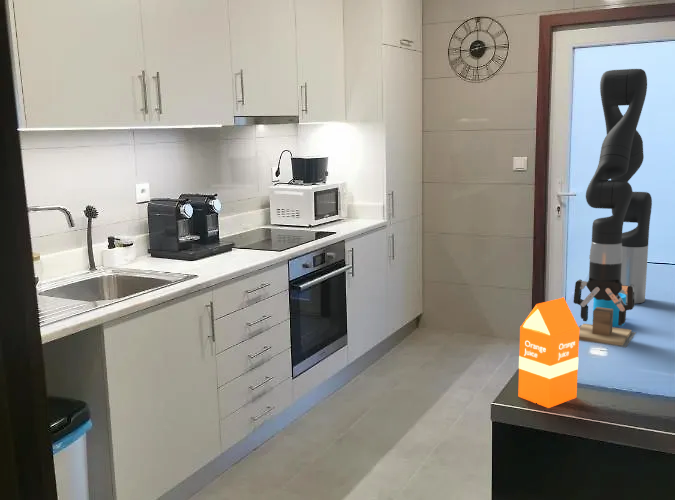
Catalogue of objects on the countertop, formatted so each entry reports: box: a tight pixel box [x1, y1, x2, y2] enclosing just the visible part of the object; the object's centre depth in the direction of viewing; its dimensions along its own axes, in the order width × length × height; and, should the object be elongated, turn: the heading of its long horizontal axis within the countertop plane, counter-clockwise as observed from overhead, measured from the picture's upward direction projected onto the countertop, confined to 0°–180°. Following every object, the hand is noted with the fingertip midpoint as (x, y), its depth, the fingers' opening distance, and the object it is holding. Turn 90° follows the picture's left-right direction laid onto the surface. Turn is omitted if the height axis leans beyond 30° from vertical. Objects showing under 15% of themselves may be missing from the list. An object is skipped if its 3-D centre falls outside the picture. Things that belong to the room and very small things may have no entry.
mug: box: [592, 293, 627, 328], centre depth 191 cm, size 12×8×8 cm
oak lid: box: [579, 307, 633, 346], centre depth 178 cm, size 12×12×7 cm
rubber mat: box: [578, 324, 637, 348], centre depth 179 cm, size 14×14×1 cm
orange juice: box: [517, 296, 580, 409], centre depth 139 cm, size 8×9×20 cm
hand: (602, 322), depth 178 cm, fingers open, 8 cm apart
